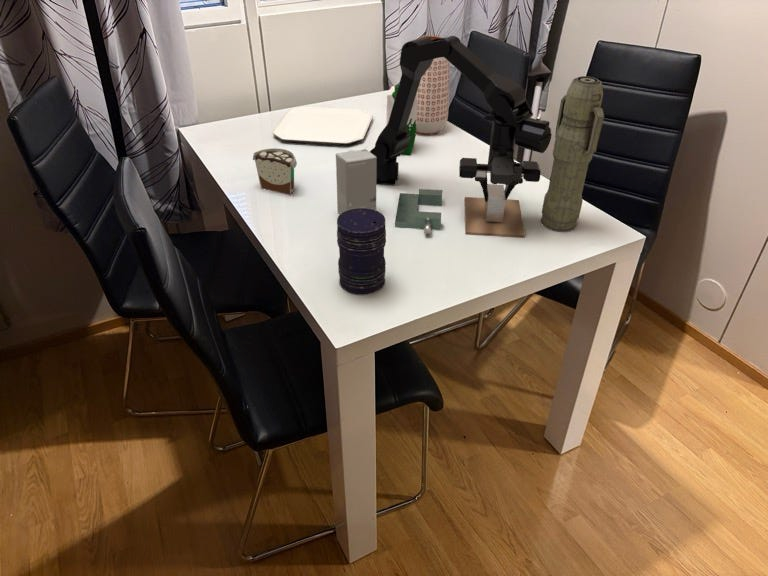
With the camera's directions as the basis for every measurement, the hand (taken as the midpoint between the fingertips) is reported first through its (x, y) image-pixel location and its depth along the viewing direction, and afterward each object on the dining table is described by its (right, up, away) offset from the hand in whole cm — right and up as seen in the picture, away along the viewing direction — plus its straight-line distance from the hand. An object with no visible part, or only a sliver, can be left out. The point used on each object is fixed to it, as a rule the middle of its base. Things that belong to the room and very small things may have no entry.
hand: (494, 201), depth 150 cm
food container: (-55, +6, +15) cm, 57 cm away
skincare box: (-34, -3, +4) cm, 34 cm away
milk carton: (-22, +21, +36) cm, 47 cm away
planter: (-13, +30, +49) cm, 59 cm away
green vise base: (-19, -4, +2) cm, 19 cm away
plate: (-47, +30, +49) cm, 74 cm away
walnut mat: (0, -4, +3) cm, 4 cm away
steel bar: (0, -3, +2) cm, 3 cm away
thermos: (+16, -5, +1) cm, 17 cm away
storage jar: (-32, -20, -20) cm, 43 cm away
